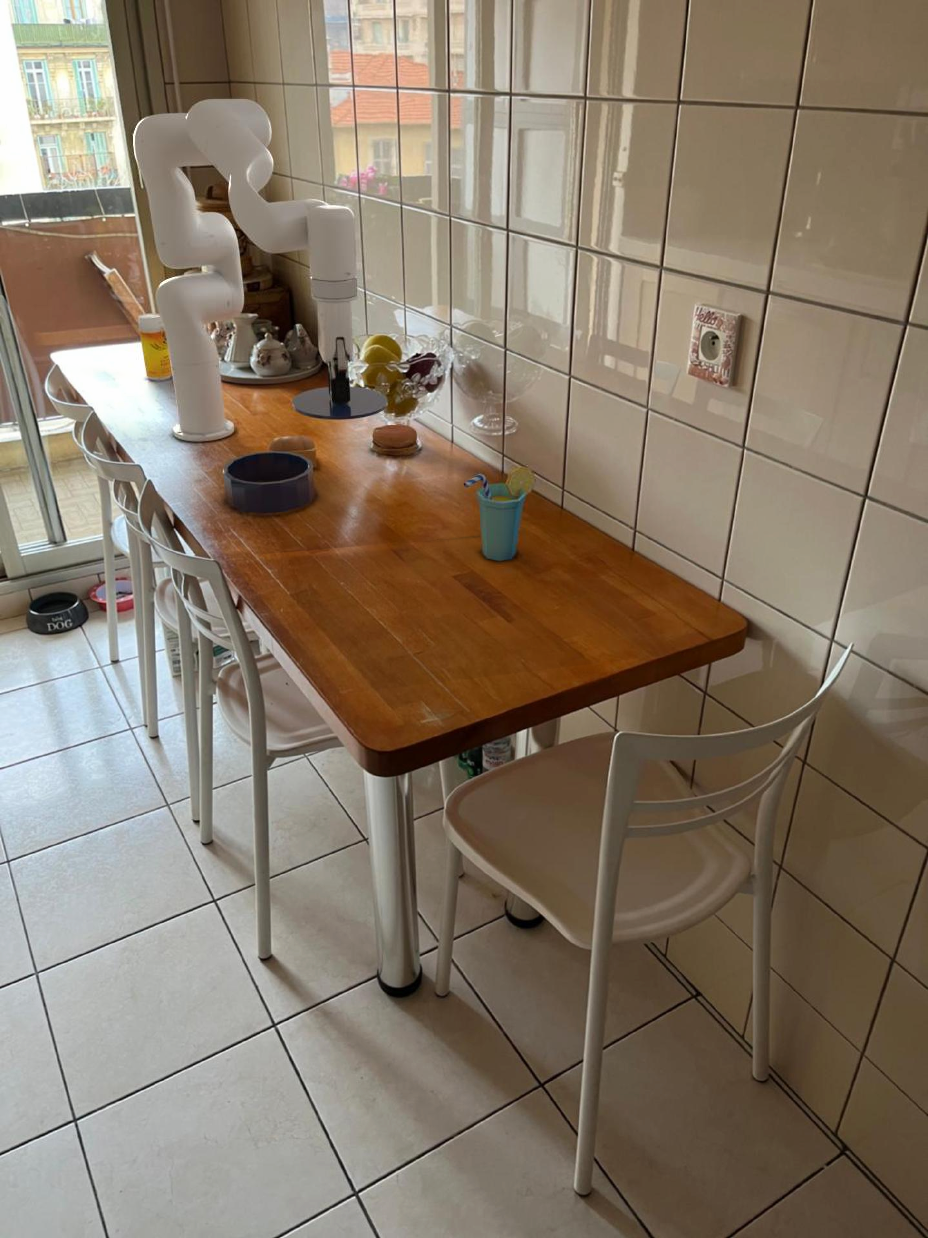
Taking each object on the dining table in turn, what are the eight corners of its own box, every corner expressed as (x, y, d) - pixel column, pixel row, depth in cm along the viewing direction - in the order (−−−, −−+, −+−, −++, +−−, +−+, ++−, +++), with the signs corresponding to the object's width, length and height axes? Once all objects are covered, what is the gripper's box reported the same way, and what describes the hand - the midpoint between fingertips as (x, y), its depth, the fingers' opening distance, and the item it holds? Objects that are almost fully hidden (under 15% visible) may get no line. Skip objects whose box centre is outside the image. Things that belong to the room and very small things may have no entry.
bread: (271, 473, 177) (268, 443, 174) (270, 462, 181) (267, 433, 178) (317, 469, 178) (315, 440, 175) (315, 459, 183) (313, 430, 180)
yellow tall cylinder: (168, 381, 227) (159, 318, 219) (143, 380, 227) (133, 318, 219) (175, 374, 232) (166, 312, 224) (151, 373, 232) (141, 312, 224)
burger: (423, 455, 186) (423, 433, 184) (379, 460, 183) (378, 438, 181) (410, 439, 194) (409, 418, 192) (367, 444, 191) (366, 422, 189)
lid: (288, 395, 166) (285, 356, 163) (379, 390, 170) (378, 352, 166) (296, 425, 152) (293, 384, 149) (395, 420, 156) (394, 379, 152)
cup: (480, 577, 142) (483, 486, 134) (446, 559, 147) (447, 471, 139) (542, 550, 150) (547, 463, 142) (508, 534, 155) (512, 450, 147)
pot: (226, 484, 171) (222, 454, 168) (310, 478, 175) (308, 448, 171) (227, 519, 158) (223, 486, 155) (318, 512, 162) (316, 480, 158)
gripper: (306, 278, 157) (313, 385, 166) (316, 300, 143) (323, 414, 153) (350, 277, 158) (354, 383, 168) (364, 298, 145) (368, 412, 154)
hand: (339, 397), depth 160 cm, fingers closed on lid, 3 cm apart
